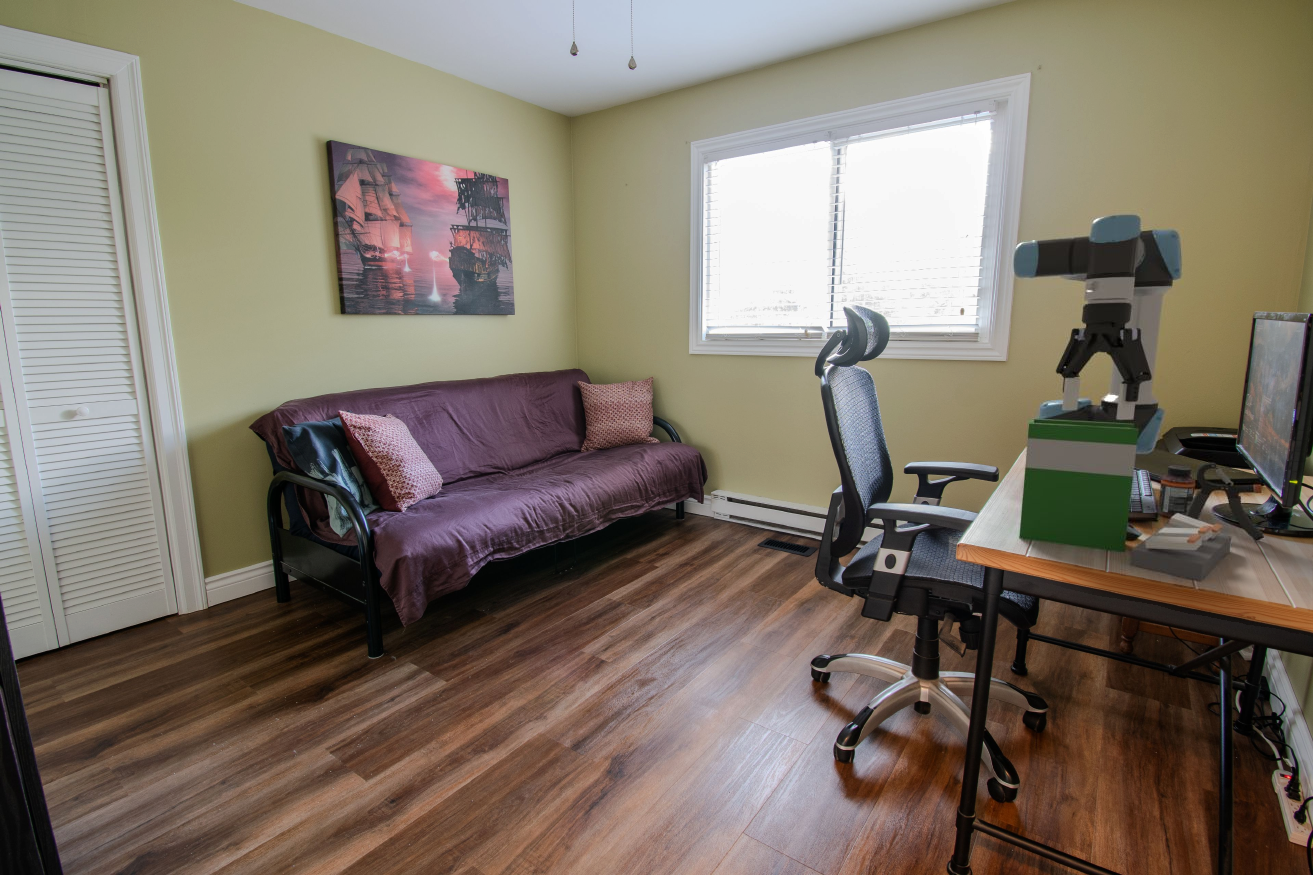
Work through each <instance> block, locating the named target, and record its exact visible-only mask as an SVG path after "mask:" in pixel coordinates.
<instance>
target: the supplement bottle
mask: <svg viewBox="0 0 1313 875" xmlns="http://www.w3.org/2000/svg"><path fill="white" fill-rule="evenodd" d="M1167 467H1168V468H1167V473H1166V474H1164V475H1163V476H1161V479H1160V486H1159V496H1158V505H1157V513H1158V514H1159V515H1160V516H1162V517H1166V518H1170V519H1171V517H1172V516H1174V515H1175V514H1177V513H1179V514H1182V515H1185V516H1186V513H1187V511H1188V508H1189V506H1190V504H1191V502H1192V500H1193V498H1194V496H1195V486H1196V480H1195V478H1194V477H1192V476H1191V474H1192V468H1191V467H1189V466H1184V465H1176V464H1174V465H1169V466H1167Z"/></svg>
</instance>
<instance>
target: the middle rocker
mask: <svg viewBox="0 0 1313 875" xmlns="http://www.w3.org/2000/svg"><path fill="white" fill-rule="evenodd" d="M1159 530H1160V529H1159ZM1156 532H1157V531H1156ZM1157 533H1158V536H1163V537H1191V536H1192V535H1201V540H1207V539H1209V538H1210V537H1211V536H1212V530H1211V526H1203V527H1202V528H1163V529H1162V530H1160V531H1159V532H1157Z"/></svg>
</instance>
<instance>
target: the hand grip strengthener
mask: <svg viewBox="0 0 1313 875" xmlns="http://www.w3.org/2000/svg"><path fill="white" fill-rule="evenodd" d="M1211 469H1212V470H1213V471H1214V473H1215V474H1217V476H1218V477H1219V478H1220V479H1221V480H1222V481H1223V482H1224V484H1219V483H1213V482H1211V481H1208V480H1207V478H1206V477H1205V473H1206V472H1207V471H1208V470H1211ZM1214 469H1215V470H1214ZM1196 471H1197V472H1196V475H1195V476H1196V481H1197V483H1199V485H1200V486H1201V489H1200V490H1197V491H1196V493H1194V497H1193V500H1192V502H1191V504H1190V506H1189V508H1188V511H1187V513H1186V516H1188V517H1190V518H1193V519H1196V520H1199V517H1200V515H1201V513H1202V511H1203V509H1204V507H1205V505H1206V502H1207V501H1208V499H1209V498H1210V495H1211V494H1212V493H1213V492H1215V491H1223V492H1225V494H1226V498H1227V500H1228V501H1227V502H1228V505H1229V508H1230V511H1231V513H1232V514H1233V516H1234V518H1235V519H1236V522H1238V524H1239V525H1240V527H1241V528H1242V529H1243V530H1244V531H1245V533H1247V534H1248V535H1249V537H1251V538H1252V539H1253V540H1254V541H1256V542H1259V541H1260V540H1262V539H1264V538H1265V536H1264V533H1263V531H1261V530H1260V529H1259V528H1258V527H1257V526H1256V525H1255V524H1254V523H1253V521H1252V520H1251V519H1250V517H1248V514H1247V513H1246V512H1245V510H1244V508H1243V507H1242V497H1241V495H1239V494H1243V493H1249V494H1252V493H1253V494H1262V485H1261V484H1248V485H1247V484H1246V485H1245V484H1241V485H1240V484H1234V482H1233V481H1231V479H1230V478H1229V476H1227V475H1226V473H1225V472H1224V471H1223V470H1222V469H1221V468H1220V467H1217V463H1215V462H1207V463H1204V464H1201V466H1199V468H1198V469H1197V470H1196ZM1228 483H1229V484H1228Z"/></svg>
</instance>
